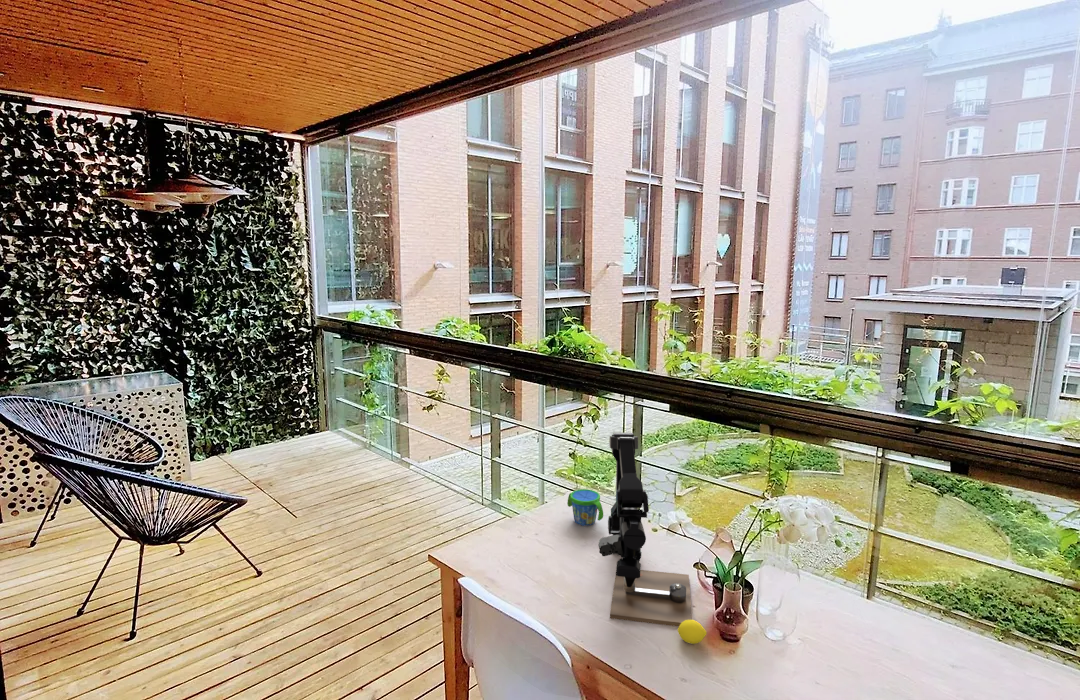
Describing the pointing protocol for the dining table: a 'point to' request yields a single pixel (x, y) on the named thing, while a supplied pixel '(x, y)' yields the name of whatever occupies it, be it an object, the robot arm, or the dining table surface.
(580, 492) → the snack cup
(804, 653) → the dining table surface
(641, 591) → the lever
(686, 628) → the lemon
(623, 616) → the board
